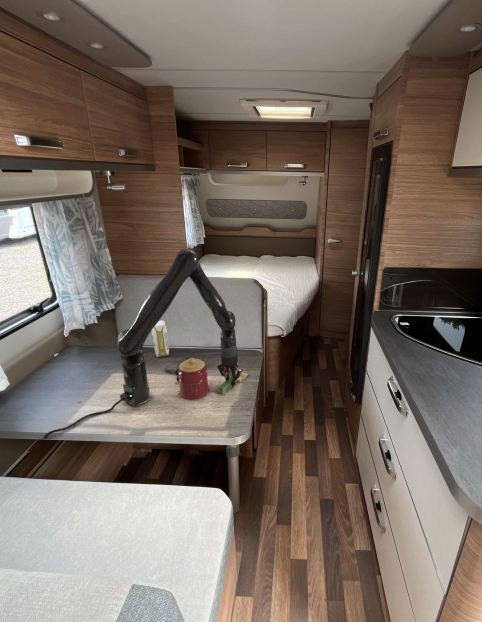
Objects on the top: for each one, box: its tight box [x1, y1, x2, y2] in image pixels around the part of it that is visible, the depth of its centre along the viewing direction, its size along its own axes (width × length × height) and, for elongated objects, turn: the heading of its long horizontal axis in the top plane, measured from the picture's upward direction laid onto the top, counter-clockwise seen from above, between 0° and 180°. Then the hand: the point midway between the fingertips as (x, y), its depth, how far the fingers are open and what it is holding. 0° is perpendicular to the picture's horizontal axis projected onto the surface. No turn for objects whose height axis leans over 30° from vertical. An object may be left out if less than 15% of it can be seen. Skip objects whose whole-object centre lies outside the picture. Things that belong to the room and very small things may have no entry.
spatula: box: [217, 371, 249, 395], centre depth 163 cm, size 19×6×3 cm, turn 154°
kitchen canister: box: [177, 357, 210, 400], centre depth 154 cm, size 13×13×18 cm
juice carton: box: [151, 320, 170, 358], centre depth 188 cm, size 8×9×19 cm
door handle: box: [164, 357, 205, 382], centre depth 174 cm, size 3×20×16 cm
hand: (230, 384), depth 162 cm, fingers closed on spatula, 2 cm apart
